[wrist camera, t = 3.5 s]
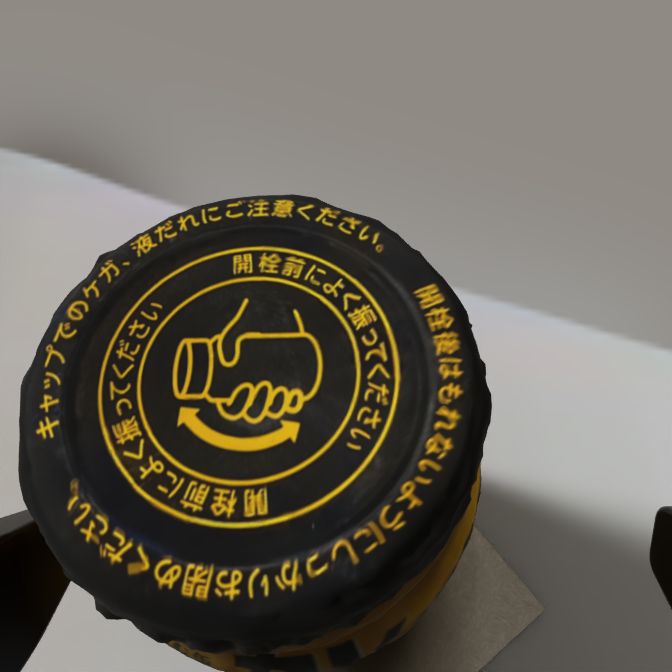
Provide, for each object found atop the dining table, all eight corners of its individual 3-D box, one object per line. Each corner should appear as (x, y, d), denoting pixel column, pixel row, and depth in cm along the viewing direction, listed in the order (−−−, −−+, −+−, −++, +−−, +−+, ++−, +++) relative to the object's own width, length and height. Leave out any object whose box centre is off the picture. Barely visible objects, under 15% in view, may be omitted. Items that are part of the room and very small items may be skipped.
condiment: (349, 378, 19) (318, 56, 8) (544, 609, 16) (904, 572, 5) (153, 522, 17) (-202, 353, 7) (325, 813, 14) (171, 1394, 3)
